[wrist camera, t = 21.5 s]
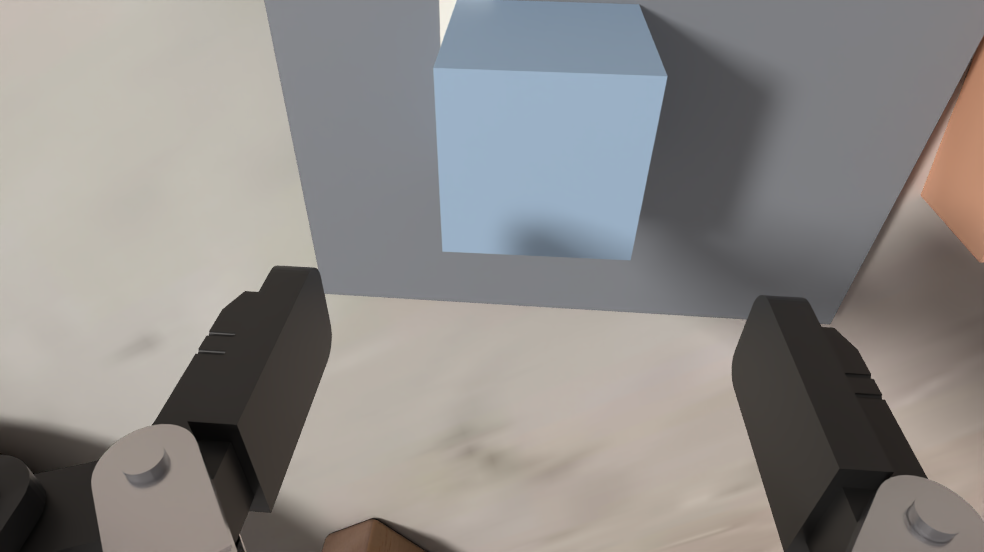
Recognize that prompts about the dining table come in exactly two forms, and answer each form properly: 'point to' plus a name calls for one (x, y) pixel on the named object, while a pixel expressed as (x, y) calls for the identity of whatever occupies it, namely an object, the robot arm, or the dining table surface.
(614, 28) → the blue cube
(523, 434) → the dining table surface
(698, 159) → the letter board
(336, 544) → the wooden block
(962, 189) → the terracotta block
